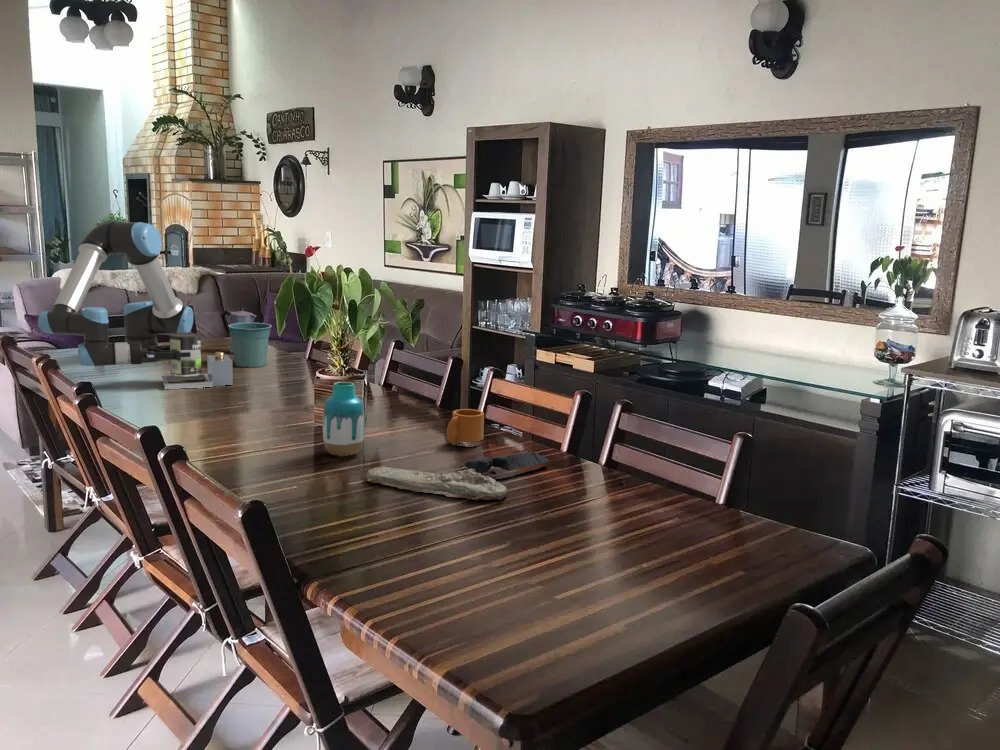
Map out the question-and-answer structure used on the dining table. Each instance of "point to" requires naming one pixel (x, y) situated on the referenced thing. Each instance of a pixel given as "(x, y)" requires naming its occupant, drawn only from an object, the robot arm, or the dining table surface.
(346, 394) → the vase
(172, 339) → the coffee can
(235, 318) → the moka pot
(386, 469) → the long grey stone
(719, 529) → the dining table surface
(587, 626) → the dining table surface
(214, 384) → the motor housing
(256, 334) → the flower pot
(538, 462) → the dark slate chunk
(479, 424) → the mug
